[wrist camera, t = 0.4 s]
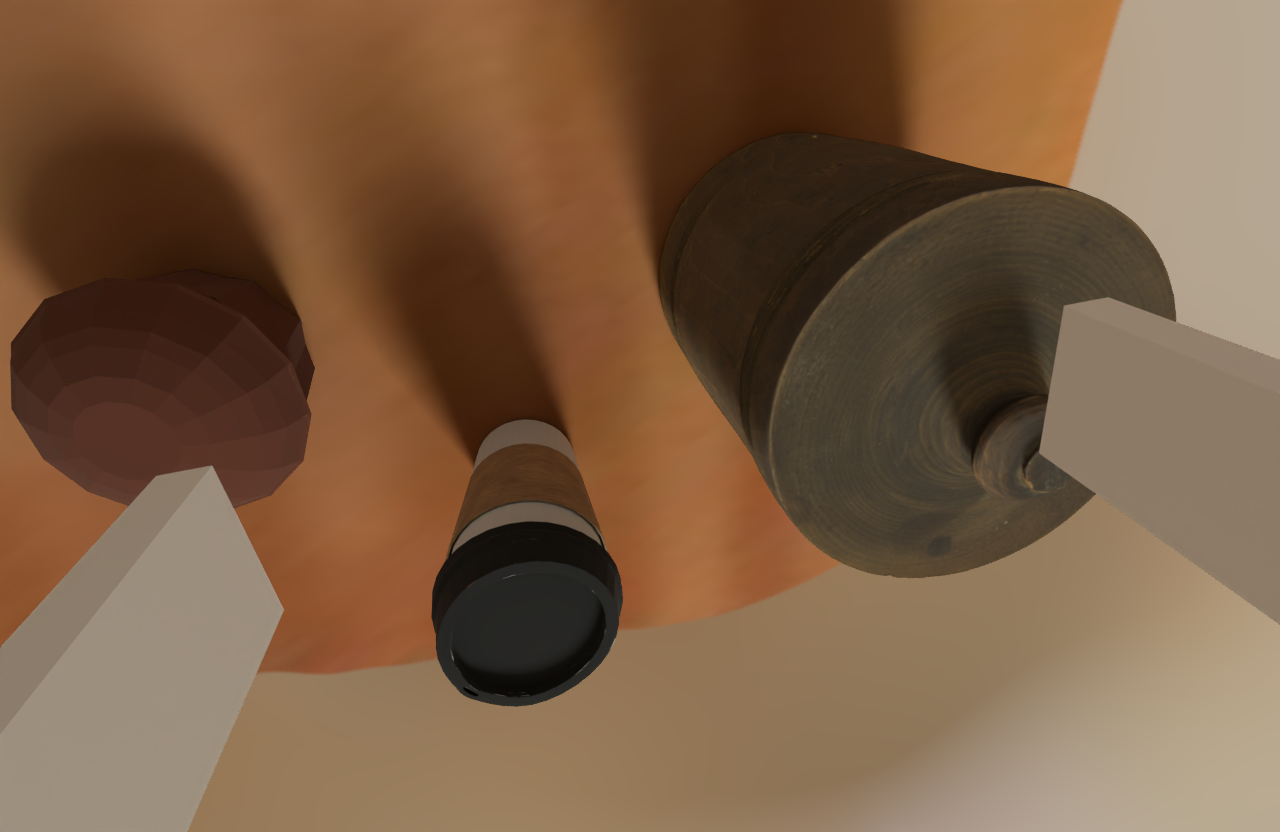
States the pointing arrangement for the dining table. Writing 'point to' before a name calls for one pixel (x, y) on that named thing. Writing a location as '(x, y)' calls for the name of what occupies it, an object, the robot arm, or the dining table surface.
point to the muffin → (165, 384)
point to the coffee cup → (525, 574)
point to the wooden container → (894, 338)
